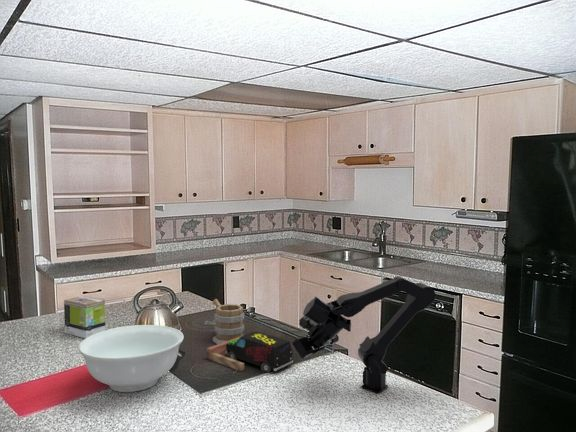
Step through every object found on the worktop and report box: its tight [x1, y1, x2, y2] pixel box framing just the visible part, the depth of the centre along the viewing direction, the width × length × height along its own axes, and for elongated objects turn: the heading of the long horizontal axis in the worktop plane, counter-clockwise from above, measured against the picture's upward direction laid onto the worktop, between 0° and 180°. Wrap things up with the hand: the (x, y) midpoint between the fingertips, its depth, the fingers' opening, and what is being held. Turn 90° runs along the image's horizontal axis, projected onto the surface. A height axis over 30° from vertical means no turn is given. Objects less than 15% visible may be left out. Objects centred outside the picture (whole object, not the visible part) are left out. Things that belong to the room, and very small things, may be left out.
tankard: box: [212, 298, 245, 345], centre depth 199 cm, size 20×13×15 cm, turn 34°
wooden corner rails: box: [206, 336, 245, 372], centre depth 178 cm, size 18×18×4 cm
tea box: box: [63, 295, 106, 339], centre depth 204 cm, size 15×10×15 cm, turn 58°
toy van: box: [226, 330, 294, 373], centre depth 174 cm, size 11×25×10 cm, turn 51°
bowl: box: [78, 324, 184, 393], centre depth 156 cm, size 32×32×15 cm
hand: (302, 354), depth 160 cm, fingers closed
